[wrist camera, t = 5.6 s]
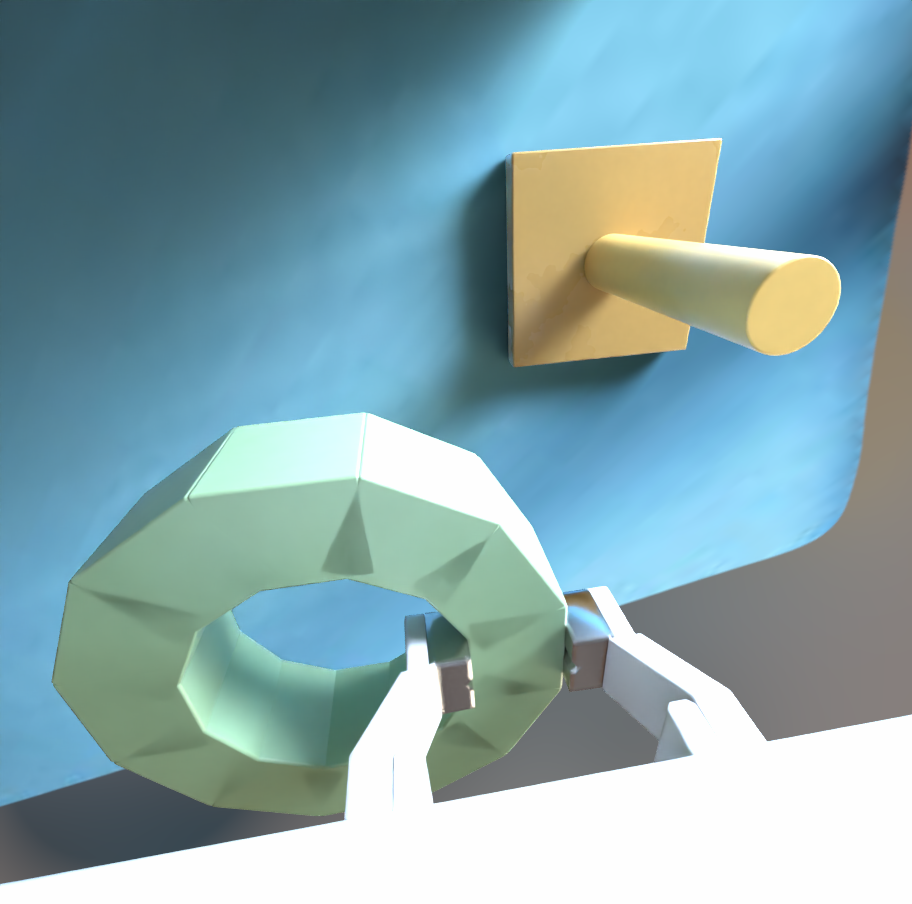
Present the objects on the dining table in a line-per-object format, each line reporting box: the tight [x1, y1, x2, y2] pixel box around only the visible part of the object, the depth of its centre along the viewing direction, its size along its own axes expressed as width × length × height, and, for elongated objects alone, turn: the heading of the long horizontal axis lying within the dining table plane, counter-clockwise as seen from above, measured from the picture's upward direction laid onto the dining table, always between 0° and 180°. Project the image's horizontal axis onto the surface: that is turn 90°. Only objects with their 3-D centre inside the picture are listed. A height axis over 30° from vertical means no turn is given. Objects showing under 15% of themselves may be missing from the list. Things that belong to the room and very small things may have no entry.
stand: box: [506, 138, 841, 367], centre depth 17 cm, size 9×9×12 cm
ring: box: [52, 413, 567, 816], centre depth 12 cm, size 11×11×3 cm
